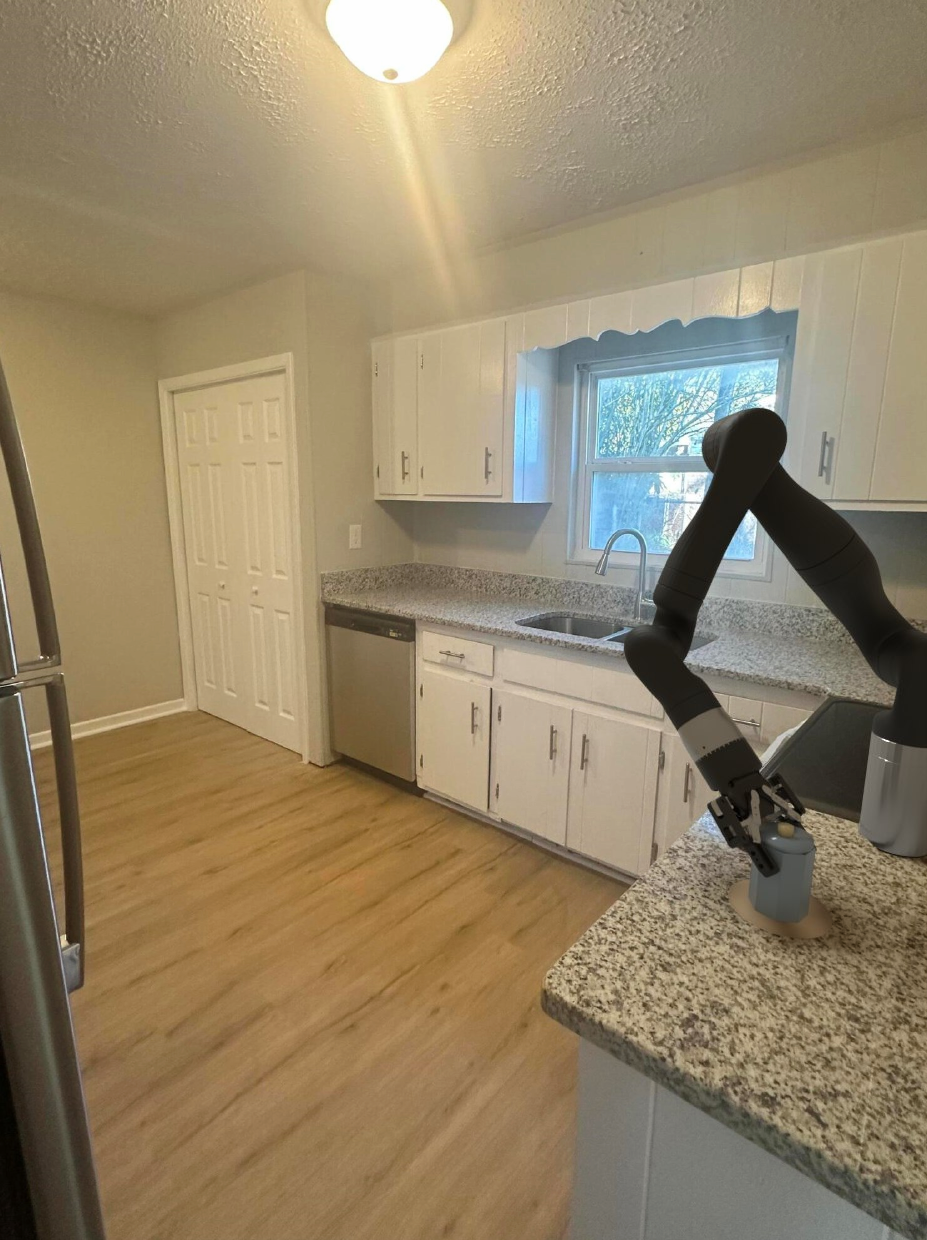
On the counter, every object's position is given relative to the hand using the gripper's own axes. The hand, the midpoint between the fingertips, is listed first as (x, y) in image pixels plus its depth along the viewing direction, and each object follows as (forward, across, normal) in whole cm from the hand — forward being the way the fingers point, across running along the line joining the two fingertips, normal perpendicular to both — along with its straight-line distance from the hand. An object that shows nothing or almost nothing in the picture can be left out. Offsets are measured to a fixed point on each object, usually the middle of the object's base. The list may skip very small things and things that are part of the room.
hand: (792, 864), depth 78 cm
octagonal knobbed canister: (+4, 0, +6) cm, 7 cm away
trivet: (+4, 0, +6) cm, 7 cm away
